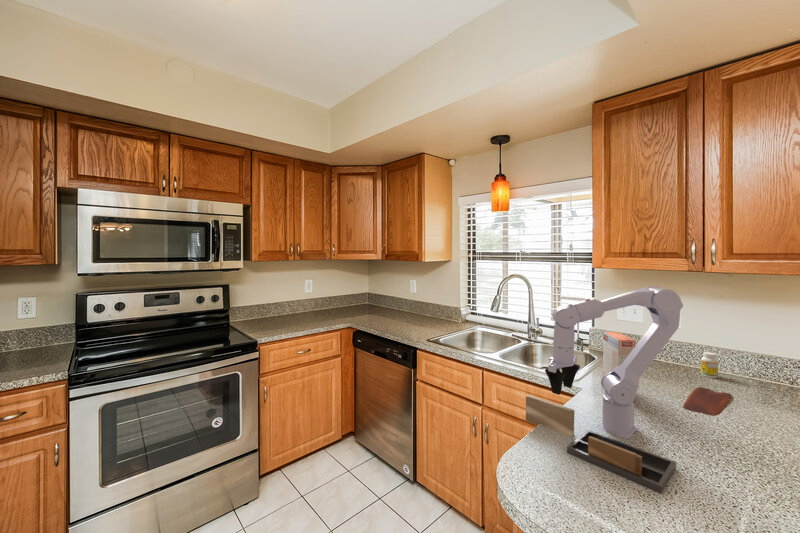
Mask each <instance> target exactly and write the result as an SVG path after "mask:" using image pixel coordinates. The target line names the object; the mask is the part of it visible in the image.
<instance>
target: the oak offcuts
mask: <svg viewBox="0 0 800 533" xmlns="http://www.w3.org/2000/svg"><path fill="white" fill-rule="evenodd" d="M588 454H590V455H592V456H595V457H597V458H599V459H602V460H604V461H607V462H609V463H611V464H614V465H616V466H619V467H621V468H623V469H626V470H628V471H631V472H633V473H635V474H638V475H640V476H642V456H640V455H638V454H636V453H634V452H631V451H628V450H626V449H623V448H621V447H618V446H615V445H613V444H610V443H607V442H605V441H602V440H599V439H597V438H594V437H591V436H589V437H588Z"/></svg>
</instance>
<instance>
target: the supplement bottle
mask: <svg viewBox="0 0 800 533" xmlns="http://www.w3.org/2000/svg"><path fill="white" fill-rule="evenodd" d="M702 354H703V356H702V357H700V358H701V359H700V375H701V376H703V377H705V376H706V378H710V379H711V378H713V379H716V378H718V377H719V360H718V359H717V353H715V352H708V351H704V352H703V353H702Z"/></svg>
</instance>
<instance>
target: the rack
mask: <svg viewBox="0 0 800 533" xmlns="http://www.w3.org/2000/svg"><path fill="white" fill-rule="evenodd" d="M589 436H591V437H594V438H597V439H599V440H602V441H605V442H607V443H610V444H613V445H615V446H618V447H621V448H623V449H626V450H628V451H631V452H634V453H636V454H638V455H640V456H642V476H640V475H638V474H635V473H633V472H631V471H628V470H626V469H623V468H621V467H619V466H616V465H614V464H611V463H609V462H607V461H604V460H602V459H599V458H597V457H595V456H592V455H590V454H588V437H589ZM566 454H568V455H571V456H573V457H576V458H578V459H580V460H582V461H585V462H587V463H589V464H592V465H594V466H596V467H599V468H600V469H603V470H605V471H607V472H610V473H613V474H615V475H617V476H620V477H622V478H624V479H627V480H629V481H631V482H632V483H636V484H637V485H640V486H642V487H644V488H647V489H648V490H649V489H650V490H651V491H654V492H656V493H658V494H663V492H664V490H665V489H666V487H667V485H668V483H669V482H670V480H671V478H672V477H673V475H674V473H675V471H676V470H677V461H674V460H671V459H669V458H666V457H663V456H661V455H658V454H655V453H653V452H650V451H646V450H644V449H641V448H638V447H637V446H636V447H635V446H633V445H630V444H629V443H625V442H622V441H620V440H617V439H614V438H612V437H609V436H606V435H604V434H600V433H598V432H595V431H593V430H590V429H586V430H585V431H584V432H583V433H582V434H580V435H579V436H578V437H577V438H576V439H574V440H573V441H572V442H571V443H569V444H568V445H567V447H566Z"/></svg>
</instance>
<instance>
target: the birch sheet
mask: <svg viewBox="0 0 800 533" xmlns="http://www.w3.org/2000/svg"><path fill="white" fill-rule="evenodd" d="M525 422H528V423H530V424H533V425H535V426H539V425H541V424H542V425H541V426H543V427H545V428H549V429H550V430H553V431H555V432H557V433H560V434H563V435H565V436H568V437H571V438H573V436H574V435H575V409H573V408H569V407H567V406H564V405H560V404H559V403H558V404H557V403H554V402H552V401H549V400H545V399H543V398H540V397H537V396H534V395H530V394H527V395H525Z"/></svg>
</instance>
